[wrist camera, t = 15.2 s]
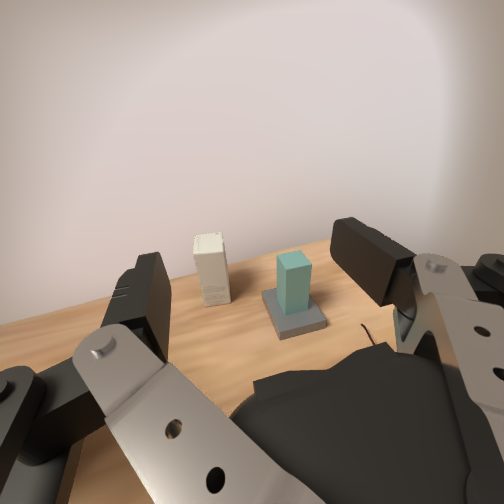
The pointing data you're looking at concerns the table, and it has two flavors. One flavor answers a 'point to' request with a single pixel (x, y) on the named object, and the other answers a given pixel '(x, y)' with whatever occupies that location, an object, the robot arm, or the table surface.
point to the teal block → (293, 282)
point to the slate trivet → (292, 317)
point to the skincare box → (212, 268)
